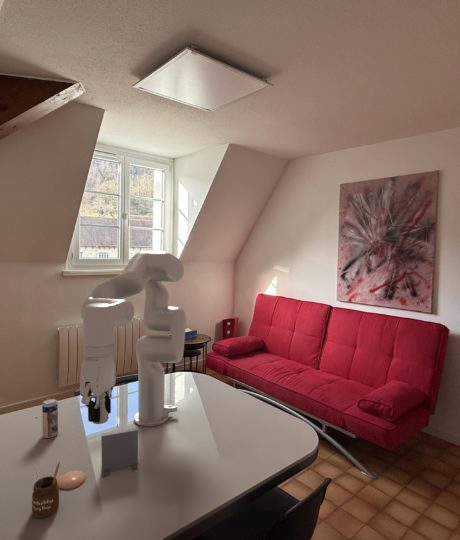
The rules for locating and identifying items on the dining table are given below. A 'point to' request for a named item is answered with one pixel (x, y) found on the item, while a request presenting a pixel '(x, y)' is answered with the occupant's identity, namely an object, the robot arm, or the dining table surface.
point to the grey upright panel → (119, 450)
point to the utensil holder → (45, 495)
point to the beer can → (50, 418)
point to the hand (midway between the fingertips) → (99, 416)
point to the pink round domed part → (71, 479)
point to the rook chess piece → (102, 410)
